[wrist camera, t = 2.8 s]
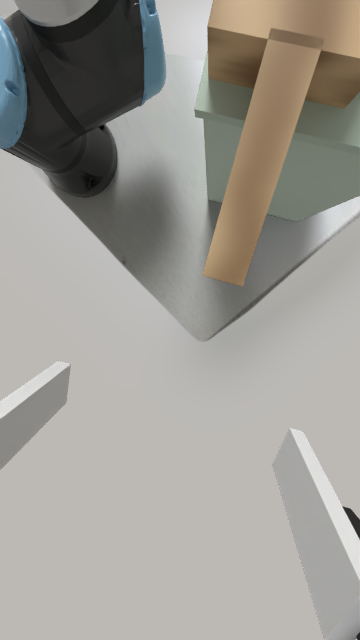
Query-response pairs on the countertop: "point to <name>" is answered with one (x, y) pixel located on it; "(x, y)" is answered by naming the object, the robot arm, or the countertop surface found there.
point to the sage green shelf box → (302, 156)
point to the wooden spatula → (273, 101)
